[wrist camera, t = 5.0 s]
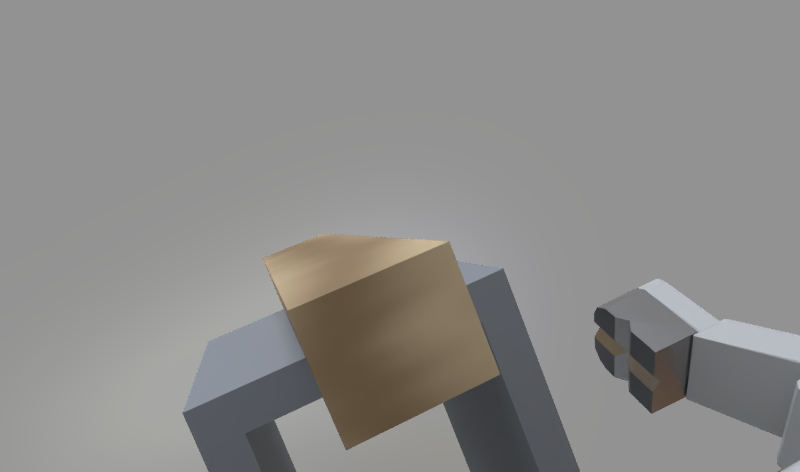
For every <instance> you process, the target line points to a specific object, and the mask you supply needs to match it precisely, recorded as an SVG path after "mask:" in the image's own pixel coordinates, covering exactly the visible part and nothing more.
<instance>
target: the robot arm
mask: <svg viewBox="0 0 800 472" xmlns="http://www.w3.org/2000/svg"><path fill="white" fill-rule="evenodd" d="M594 321H595V323H596V324H598V326H600V328H599V330H598V332H597V334H596V335H595V348H596V351H597V353H598V356H599V358H600V360H601V362H602V363H603V365H604V366H605V368H606V369H607V370H608V371H609V372H610V373H611V374H612V375H613V376H614V377H616V378H619V379H622V380H626V381H628V386H629V392H630V393H631V394H632V395H633V396H634V397H635V398H636V399H637V400H638V401H639V402H640V403H641V404H642V405H643V406H644V407H645V408H647V410H648V411H649V412H650V413H654V412H656V411H658V410H660V409H662V408H664V407H666V406H668V405H670V404H672V403H674V402H676V401H678V400H680V399H682V398H684V397H686V399H688V400H691V401H693V402H695V403H698V404H700V405H703V406H705V407H708V408H710V409H712V410H715V411H717V412H720V413H722V414H725V415H727V416H730V417H732V418H735V419H737V420H740V421H742V422H745V423H747V424H749V425H752V426H754V427H757V428H760V429H762V430H764V431H767V432H769V433H772V434H774V435H777V436H779V437H782V440H781V444H780V448H779V452H778V455H777V464H778V465H779V466H780V467H781V468H782V469H783V470H782V471H780V472H800V336H799V335H795V334H791V333H787V332H782V331H778V330H773V329H769V328H764V327H760V326H756V325H751V324H747V323H743V322H738V321H734V320H729V319H724V320H722V321H719V320H717V319H716V318H714V317H713V316H712V315H710V314H709V313H708V312H706V311H705V310H703V309H702V308H701V307H699V306H698V305H697V304H695V303H694V302H692V301H691V300H690V299H688V298H687V297H685V296H684V295H683V294H681V293H680V292H679V291H677V290H676V289H675V288H673V287H672V286H670V285H669V284H667V283H666V282H665V281H663V280H660V279H656V280H654V281H651V282H649V283H647V284H645V285H643V286H641V287H639V288H637V289H634V290H632V291H630V292H627V293H626V294H624V295H622V296H619V297H617V298H615V299H613V300H611V301H609V302H607V303H605V304H603V305H601V306H599V307H597V309H596V311H595V313H594Z"/></svg>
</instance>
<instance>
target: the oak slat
mask: <svg viewBox="0 0 800 472" xmlns="http://www.w3.org/2000/svg"><path fill="white" fill-rule="evenodd" d="M263 260H264V263H265V265H266V267H267V270H268V272H269V275H270V277H271V279H272V281H273V284H274V287H275V289H276V291H277V294H278V296H279V298H280V301H281V303H282V306H283V308H284V310H285V313H286V315H287V317H288V319H289V322H290V324H291V326H292V328H293V331H294V333H295V335H296V338H297V340H298V342H299V344H300V347H301V349H302V351H303V353H304V356H305V358H306V360H307V363H308V365H309V367H310V369H311V372H312V374H313V376H314V378H315V381H316V383H317V385H318V388H319V390H320V392H321V394H322V397H323V399H324V401H325V403H326V406H327V408H328V410H329V413H330V414H331V417H332V419H333V422H334V424H335V426H336V428H337V431H338V433H339V435H340V438H341V440H342V442H343V444H344V447H345V449H346V450H348V449H350V448H352V447H354V446H356V445H358V444H360V443H362V442H364V441H366V440H368V439H370V438H372V437H374V436H376V435H378V434H380V433H382V432H384V431H386V430H388V429H390V428H393V427H394V426H397V425H399V424H401V423H403V422H405V421H407V420H409V419H411V418H413V417H415V416H417V415H419V414H421V413H423V412H425V411H427V410H429V409H431V408H433V407H435V406H437V405H439V404H441V403H443V402H445V401H447V400H449V399H451V398H453V397H455V396H458V395H460V394H462V393H464V392H466V391H468V390H470V389H472V388H474V387H476V386H478V385H480V384H482V383H484V382H486V381H488V380H490V379H492V378H494V377H496V376H498V375H500V372H499V369H498V367H497V364H496V362H495V359H494V356H493V354H492V351H491V349H490V346H489V343H488V341H487V338H486V336H485V333H484V330H483V328H482V325H481V323H480V320H479V318H478V315H477V312H476V310H475V307H474V305H473V302H472V299H471V297H470V294H469V292H468V289H467V286H466V284H465V281H464V279H463V276H462V273H461V271H460V268H459V266H458V263H457V260H456V258H455V255H454V253H453V250H452V248H451V245H450V242H449V241H435V240H419V239H418V240H417V239H402V238H385V237H384V238H383V237H368V236H352V235H351V236H350V235H335V234H334V235H333V234H321V235H319V236H316V237H314V238H312V239H309V240H307V241H304V242H302V243H299V244H297V245H294V246H292V247H289V248H287V249H285V250H282V251H280V252H277V253H275V254H272V255H270V256H267V257H265V258H263Z"/></svg>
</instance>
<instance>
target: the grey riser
mask: <svg viewBox="0 0 800 472" xmlns="http://www.w3.org/2000/svg"><path fill="white" fill-rule="evenodd" d="M457 263H458V266H459V268H460V271H461V273H462V276H463V279H464V281H465V284H466V286H467V289H468V292H469V294H470V297H471V299H472V302H473V305H474V307H475V310H476V312H477V315H478V318H479V320H480V323H481V325H482V328H483V330H484V333H485V336H486V338H487V341H488V343H489V346H490V349H491V351H492V354H493V356H494V359H495V362H496V364H497V367H498V369H499V372H500V375H498V376H496V377H494V378H492V379H490V380H488V381H486V382H484V383H482V384H480V385H478V386H476V387H474V388H472V389H470V390H468V391H466V392H464V393H462V394H460V395H458V396H455V397H453V398H451V399H449V400H447V401H445V402H443V404H444V406H445V409H446V411H447V414H448V417H449V419H450V422H451V424H452V427H453V429H454V432H455V434H456V437H457V439H458V442H459V444H460V447H461V449H462V451H463V454H464V457H465V459H466V462H467V464H468V467H469V469H470V472H580V470H579V468H578V465H577V462H576V460H575V457H574V454H573V452H572V449H571V446H570V444H569V441H568V438H567V436H566V433H565V431H564V428H563V425H562V422H561V420H560V417H559V415H558V412H557V409H556V407H555V404H554V401H553V399H552V396H551V394H550V391H549V388H548V385H547V383H546V380H545V377H544V375H543V372H542V370H541V367H540V365H539V362H538V359H537V356H536V354H535V351H534V348H533V346H532V343H531V340H530V338H529V335H528V333H527V330H526V327H525V325H524V322H523V319H522V317H521V314H520V311H519V309H518V306H517V303H516V301H515V298H514V296H513V293H512V290H511V287H510V285H509V282H508V280H507V277H506V274H505V272H504V269H503V268H496V267H490V266H483V265H477V264H471V263H464V262H458V261H457ZM320 398H322V394H321V392H320V390H319V388H318V385H317V383H316V381H315V378H314V376H313V374H312V372H311V369H310V367H309V365H308V363H307V360H306V358H305V356H304V353H303V351H302V349H301V347H300V344H299V342H298V340H297V338H296V335H295V333H294V331H293V328H292V326H291V324H290V322H289V319H288V317H287V315H286V313H285V310H284V309H283V310H281V311H279V312H276V313H274V314H272V315H269V316H267V317H265V318H263V319H260V320H258V321H255V322H253V323H251V324H248V325H246V326H244V327H241V328H239V329H237V330H234V331H232V332H230V333H228V334H225V335H223V336H220V337H218V338H216V339H213V340H211V341H209V342H208V344H207V347H206V350H205V352H204V355H203V358H202V360H201V364H200V366H199V369H198V372H197V374H196V378H195V380H194V383H193V385H192V388H191V391H190V394H189V396H188V399H187V402H186V405H185V408H184V411H183V415H184V417H185V419H186V422H187V424H188V426H189V428H190V431H191V433H192V435H193V437H194V440H195V442H196V444H197V447H198V449H199V451H200V453H201V455H202V458H203V460H204V462H205V465H206V467H207V469H208V471H209V472H296V470H295V468H294V465H293V463H292V461H291V458H290V456H289V454H288V452H287V449H286V447H285V444H284V442H283V440H282V437H281V435H280V433H279V430H278V428H277V426H276V423H275V421H274V420H275V419H277V418H279V417H282V416H283V415H286V414H288V413H290V412H292V411H294V410H297V409H299V408H301V407H303V406H305V405H307V404H309V403H311V402H314V401H316V400H318V399H320Z"/></svg>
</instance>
